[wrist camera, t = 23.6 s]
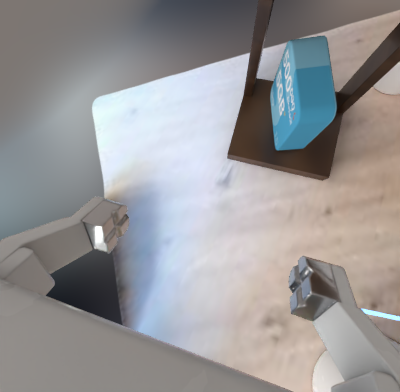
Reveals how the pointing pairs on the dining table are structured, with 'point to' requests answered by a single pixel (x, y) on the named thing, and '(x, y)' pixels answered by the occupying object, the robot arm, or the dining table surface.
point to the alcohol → (390, 82)
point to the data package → (302, 93)
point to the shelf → (262, 116)
